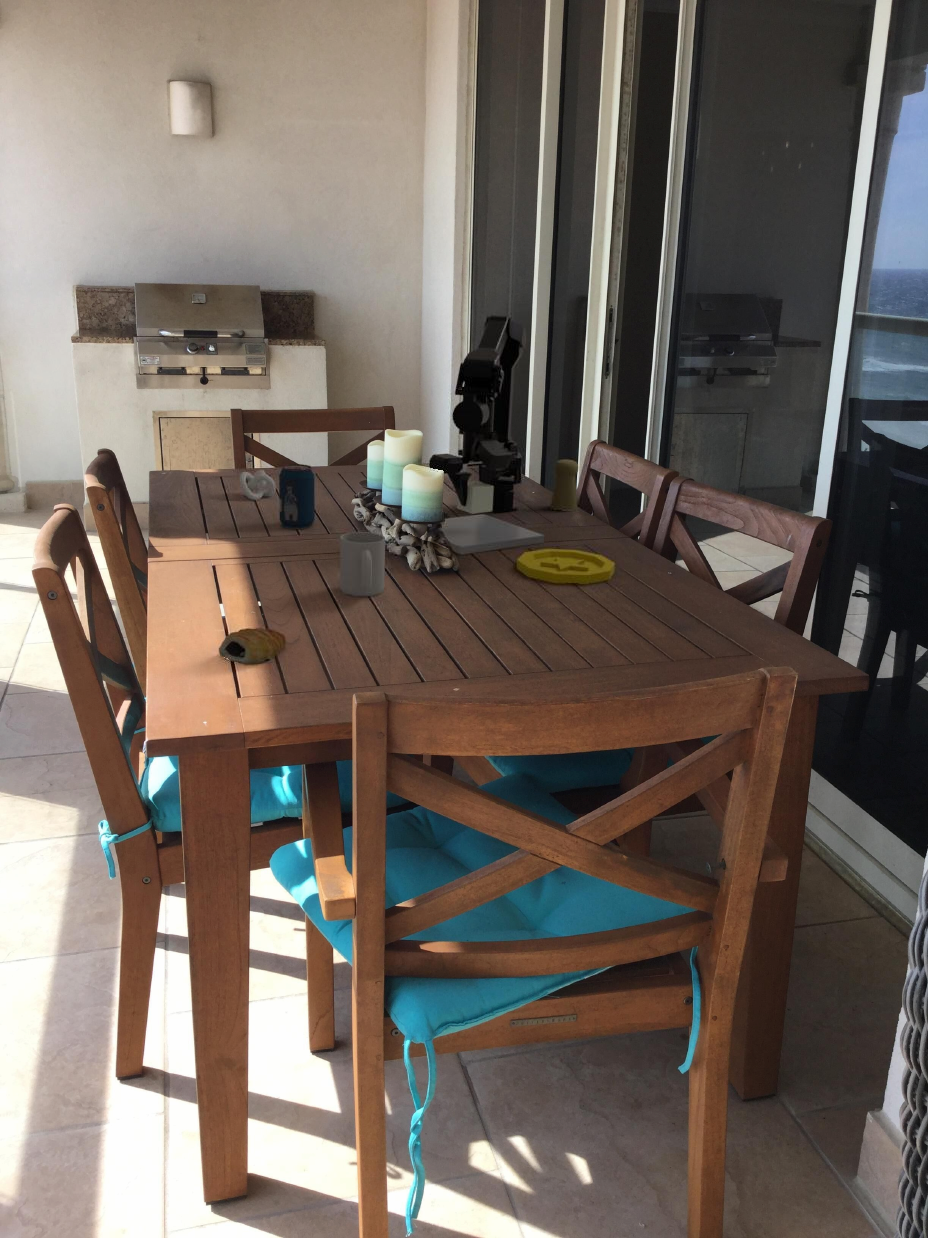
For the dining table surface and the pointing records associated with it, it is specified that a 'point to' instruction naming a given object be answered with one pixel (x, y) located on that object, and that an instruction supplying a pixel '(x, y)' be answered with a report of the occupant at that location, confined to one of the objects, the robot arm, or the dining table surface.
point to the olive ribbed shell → (252, 645)
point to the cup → (362, 563)
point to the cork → (565, 486)
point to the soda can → (296, 496)
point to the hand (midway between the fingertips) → (474, 504)
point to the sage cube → (478, 498)
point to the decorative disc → (565, 566)
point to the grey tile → (486, 534)
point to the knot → (256, 485)
